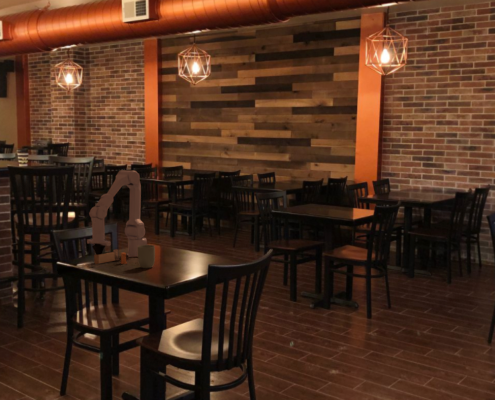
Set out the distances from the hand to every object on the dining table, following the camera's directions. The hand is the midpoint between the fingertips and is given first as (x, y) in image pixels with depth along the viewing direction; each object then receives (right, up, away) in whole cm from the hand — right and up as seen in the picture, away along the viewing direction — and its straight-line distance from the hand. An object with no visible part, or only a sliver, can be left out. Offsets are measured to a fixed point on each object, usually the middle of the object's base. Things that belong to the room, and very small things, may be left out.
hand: (99, 259), depth 284 cm
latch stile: (+12, -2, -2) cm, 13 cm away
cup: (+25, -3, -13) cm, 28 cm away
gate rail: (+2, -1, +1) cm, 3 cm away
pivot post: (+7, -1, +7) cm, 9 cm away
